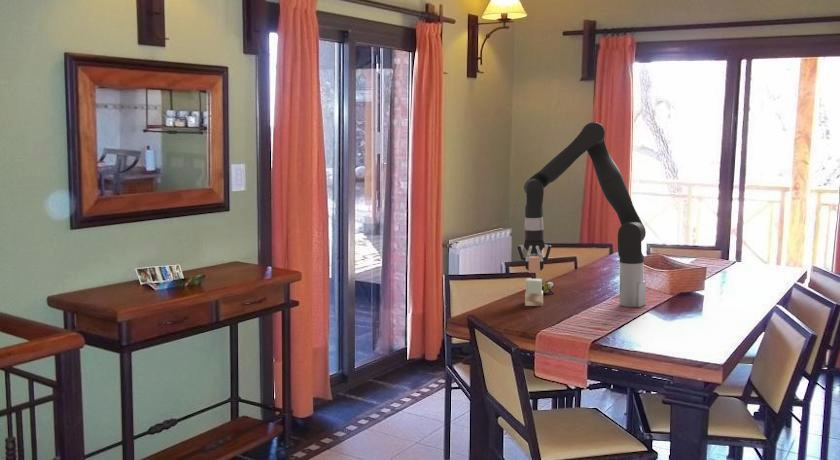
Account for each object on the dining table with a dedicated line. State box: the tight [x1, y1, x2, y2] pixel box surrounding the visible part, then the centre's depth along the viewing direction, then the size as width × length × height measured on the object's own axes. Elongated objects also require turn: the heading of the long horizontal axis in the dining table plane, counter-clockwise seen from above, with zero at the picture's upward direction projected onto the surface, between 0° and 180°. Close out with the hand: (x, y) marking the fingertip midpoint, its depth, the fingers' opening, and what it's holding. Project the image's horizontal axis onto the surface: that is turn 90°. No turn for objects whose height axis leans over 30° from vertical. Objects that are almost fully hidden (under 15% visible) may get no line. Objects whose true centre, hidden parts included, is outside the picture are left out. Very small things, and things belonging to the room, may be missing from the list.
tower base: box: [524, 291, 544, 307], centre depth 318 cm, size 7×7×5 cm
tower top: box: [525, 278, 543, 294], centre depth 318 cm, size 6×6×5 cm
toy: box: [541, 278, 555, 295], centre depth 335 cm, size 7×8×15 cm
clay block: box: [528, 255, 541, 274], centre depth 317 cm, size 4×4×6 cm
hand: (534, 270), depth 317 cm, fingers closed on clay block, 4 cm apart
